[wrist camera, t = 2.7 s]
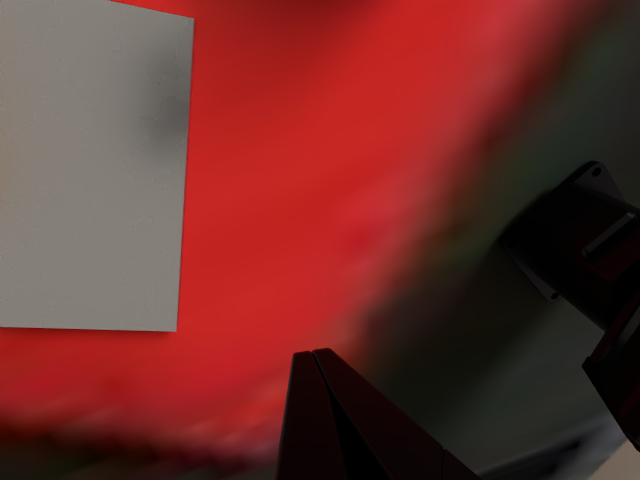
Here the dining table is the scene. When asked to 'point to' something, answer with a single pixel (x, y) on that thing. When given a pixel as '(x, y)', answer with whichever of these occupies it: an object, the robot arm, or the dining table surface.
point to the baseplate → (92, 163)
